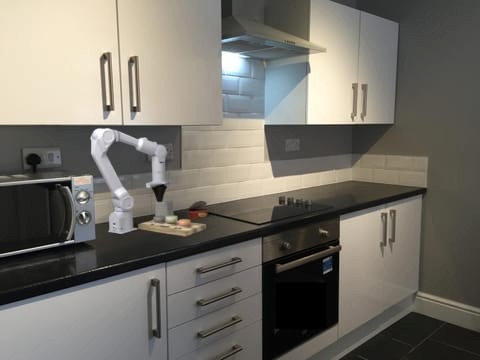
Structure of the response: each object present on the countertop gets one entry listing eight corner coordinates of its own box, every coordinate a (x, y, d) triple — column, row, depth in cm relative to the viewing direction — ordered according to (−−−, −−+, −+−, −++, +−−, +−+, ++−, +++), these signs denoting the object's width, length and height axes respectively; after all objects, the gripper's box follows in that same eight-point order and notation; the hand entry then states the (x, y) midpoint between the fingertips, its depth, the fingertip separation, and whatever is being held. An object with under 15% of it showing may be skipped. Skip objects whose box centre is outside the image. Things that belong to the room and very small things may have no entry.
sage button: (172, 223, 179) (172, 218, 178) (163, 221, 181) (163, 217, 181) (179, 220, 183) (179, 216, 183) (170, 219, 186) (170, 215, 185)
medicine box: (173, 217, 205) (173, 200, 204) (167, 219, 201) (167, 201, 200) (161, 216, 209) (160, 198, 208) (155, 217, 205) (154, 200, 204)
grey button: (159, 223, 182) (159, 218, 182) (151, 222, 185) (151, 217, 185) (167, 221, 187) (167, 216, 186) (158, 219, 189) (158, 215, 189)
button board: (185, 236, 170) (185, 230, 170) (138, 228, 183) (137, 223, 183) (205, 229, 182) (205, 223, 182) (159, 222, 195) (159, 217, 195)
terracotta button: (185, 227, 175) (185, 222, 175) (176, 225, 178) (176, 220, 178) (192, 224, 180) (192, 219, 179) (183, 223, 182) (183, 218, 182)
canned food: (191, 227, 205) (181, 210, 203) (194, 220, 215) (184, 204, 213) (211, 217, 203) (201, 199, 201) (213, 210, 213) (203, 193, 211)
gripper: (154, 173, 180) (155, 205, 182) (176, 170, 192) (177, 200, 194) (142, 172, 183) (143, 203, 185) (164, 169, 196) (165, 198, 197)
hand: (159, 201), depth 190 cm, fingers closed
